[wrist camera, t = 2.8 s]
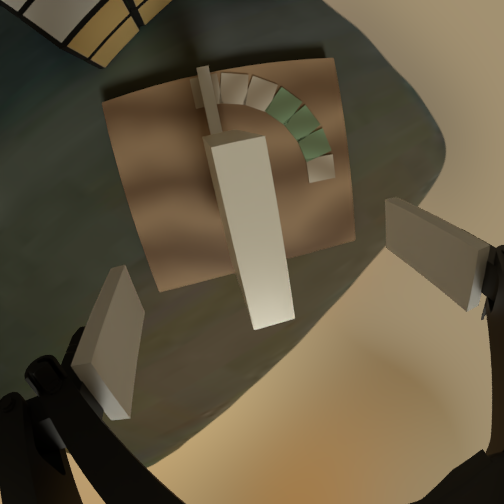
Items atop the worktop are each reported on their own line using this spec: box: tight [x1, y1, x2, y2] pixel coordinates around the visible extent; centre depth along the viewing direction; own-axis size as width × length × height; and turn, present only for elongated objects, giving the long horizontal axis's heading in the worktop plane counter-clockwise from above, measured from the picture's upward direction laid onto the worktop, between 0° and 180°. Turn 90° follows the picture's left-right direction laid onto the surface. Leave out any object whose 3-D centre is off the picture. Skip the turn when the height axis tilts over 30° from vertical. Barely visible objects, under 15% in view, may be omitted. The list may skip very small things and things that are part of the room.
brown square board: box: [102, 58, 355, 292], centre depth 27 cm, size 18×20×2 cm
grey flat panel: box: [197, 66, 295, 330], centre depth 19 cm, size 15×2×12 cm, turn 11°
